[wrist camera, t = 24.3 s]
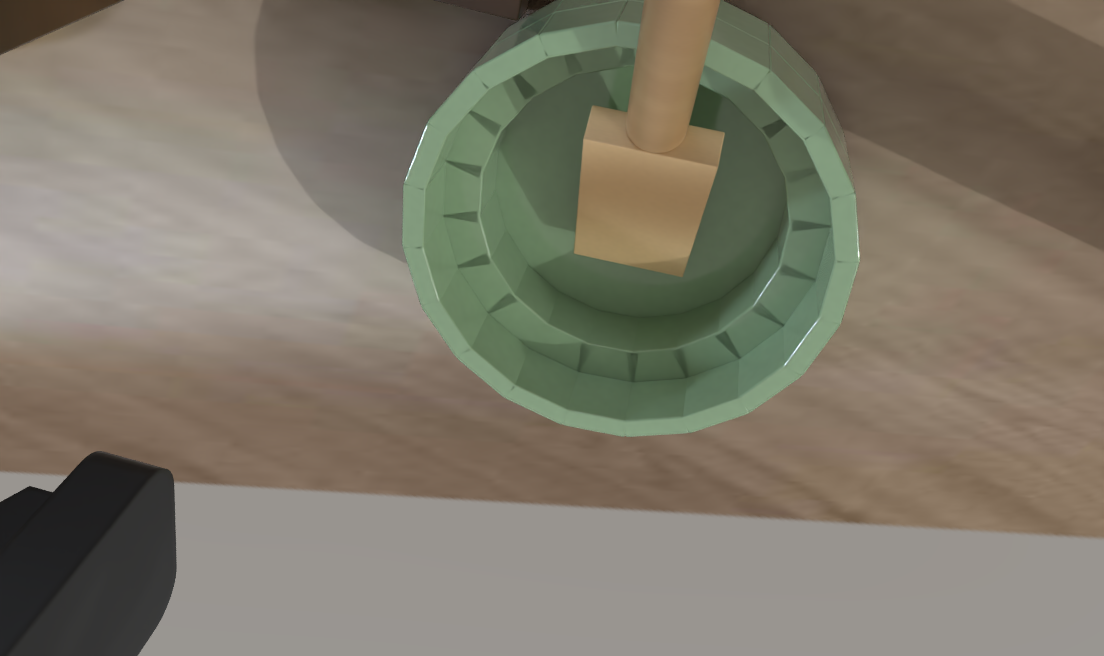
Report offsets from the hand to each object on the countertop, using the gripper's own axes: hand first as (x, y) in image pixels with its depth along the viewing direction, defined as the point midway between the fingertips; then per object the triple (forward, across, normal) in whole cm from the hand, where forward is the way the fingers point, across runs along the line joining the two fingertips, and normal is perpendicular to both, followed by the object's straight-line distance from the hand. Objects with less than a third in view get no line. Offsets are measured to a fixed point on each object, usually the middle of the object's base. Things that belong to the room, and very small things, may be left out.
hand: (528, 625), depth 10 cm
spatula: (+21, 0, +1) cm, 21 cm away
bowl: (+29, 0, +8) cm, 30 cm away
